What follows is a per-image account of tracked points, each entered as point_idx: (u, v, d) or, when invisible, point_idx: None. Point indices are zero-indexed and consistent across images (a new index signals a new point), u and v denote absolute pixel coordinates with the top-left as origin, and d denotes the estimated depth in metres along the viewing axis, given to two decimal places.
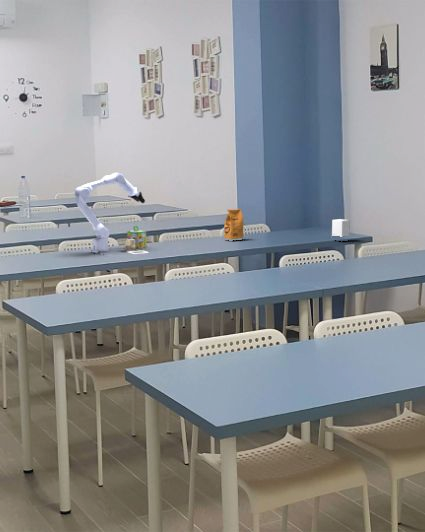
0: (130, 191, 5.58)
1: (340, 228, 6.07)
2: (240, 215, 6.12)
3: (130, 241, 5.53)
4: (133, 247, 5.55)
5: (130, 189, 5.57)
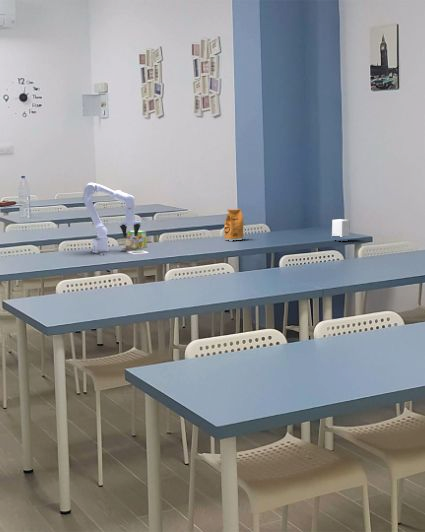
0: None
1: (340, 228, 6.07)
2: (240, 215, 6.12)
3: (130, 241, 5.53)
4: (133, 247, 5.55)
5: (126, 217, 5.52)
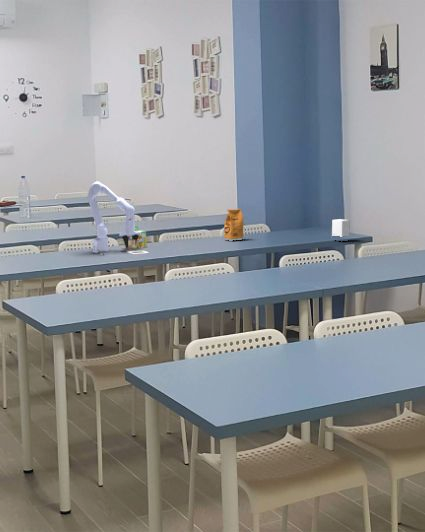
0: None
1: (340, 228, 6.07)
2: (240, 215, 6.12)
3: (130, 241, 5.53)
4: (133, 247, 5.55)
5: (126, 228, 5.53)
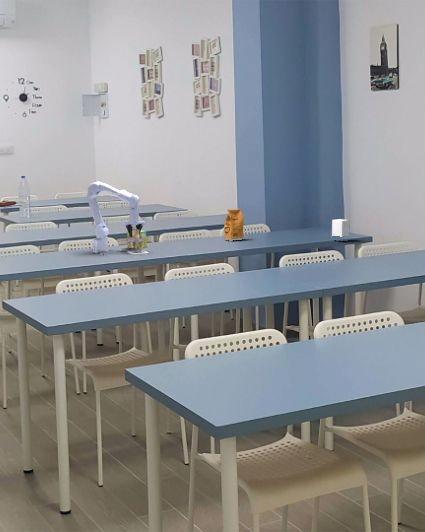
0: None
1: (340, 228, 6.07)
2: (240, 215, 6.12)
3: (134, 231, 5.48)
4: (137, 237, 5.50)
5: (130, 217, 5.48)
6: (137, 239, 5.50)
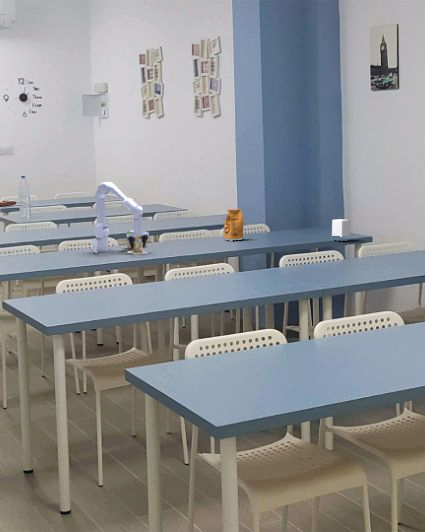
0: (133, 230, 5.46)
1: (340, 228, 6.07)
2: (240, 215, 6.12)
3: (137, 243, 5.45)
4: (140, 250, 5.47)
5: (133, 228, 5.45)
6: (140, 252, 5.47)
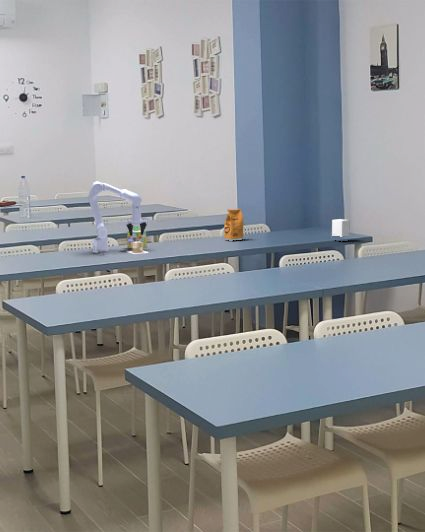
0: (132, 217, 5.56)
1: (340, 228, 6.07)
2: (240, 215, 6.12)
3: (137, 243, 5.45)
4: (140, 250, 5.47)
5: (132, 216, 5.55)
6: (140, 252, 5.47)
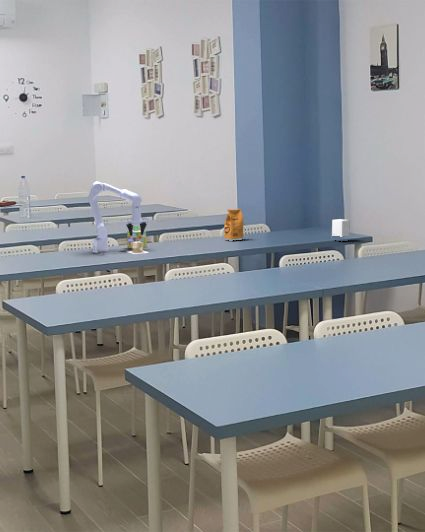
0: (132, 217, 5.56)
1: (340, 228, 6.07)
2: (240, 215, 6.12)
3: (137, 243, 5.45)
4: (140, 250, 5.47)
5: (132, 216, 5.55)
6: (140, 252, 5.47)
